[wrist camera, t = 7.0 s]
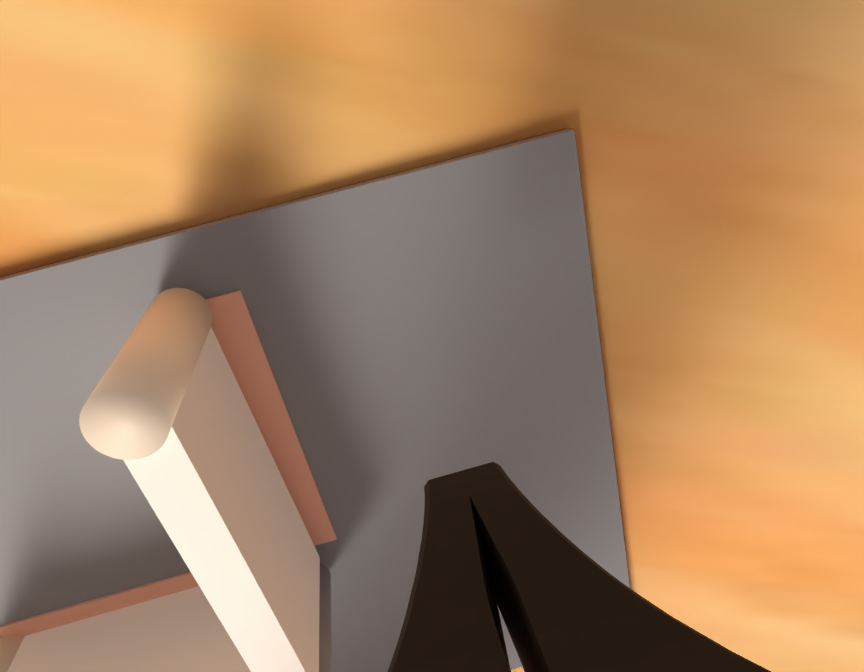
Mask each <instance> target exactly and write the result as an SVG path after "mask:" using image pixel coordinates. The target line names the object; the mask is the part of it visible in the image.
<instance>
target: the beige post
mask: <svg viewBox="0 0 864 672" xmlns="http://www.w3.org/2000/svg"><path fill="white" fill-rule="evenodd" d="M212 320H213V316H212V311H211V308H210V306H209V304H208V303H207V301H206V300H205V299H204V298H203V297H202V296H201V295H199V294H198V293H196V292H194V291H192V290H189V289H186V288H171V289H167V290H164V291H162V292H161V293H159V294H158V295H157V296H156V297H155V298H154V299H153V301H152V302H151V304H150V305H149V307H148V308H147V310H146V311H145V313H144V314H143V316H142V318H141V319H140V321H139V322H138V324H137V325H136V327H135V328H134V330H133V331H132V333H131V334H130V336H129V337H128V339H127V340H126V342H125V343H124V345H123V346H122V348H121V349H120V351H119V353H118V354H117V356H116V357H115V359H114V360H113V362H112V363H111V365H110V366H109V368H108V369H107V371H106V372H105V374H104V375H103V377H102V378H101V380H100V381H99V383H98V385H97V386H96V388H95V389H94V391H93V392H92V394H91V395H90V397H89V398H88V400H87V401H86V403H85V404H84V406H83V408H82V410H81V413H80V417H79V425H80V429H81V432H82V434H83V436H84V438H85V439H86V441H87V442H88V443H89V444H90V445H91V446H92V447H93V448H94V449H95V450H97V451H98V452H100V453H102V454H104V455H106V456H109V457H112V458H115V459H121V460H123V461H124V462H125V464H126V466H127V467H128V469H129V471H130V472H131V474H132V476H133V477H134V479H135V480H136V482H137V484H138V485H139V487H140V489H141V490H142V492H143V494H144V495H145V497H146V499H147V500H148V502H149V504H150V505H151V507H152V509H153V510H154V512H155V514H156V515H157V517H158V519H159V520H160V522H161V524H162V525H163V527H164V529H165V530H166V532H167V533H168V535H169V537H170V538H171V540H172V542H173V543H174V545H175V547H176V548H177V550H178V552H179V553H180V555H181V557H182V558H183V560H184V562H185V563H186V565H187V567H188V568H189V570H190V572H191V573H192V575H193V577H194V578H195V580H196V582H197V583H198V585H199V586H200V588H201V590H202V591H203V593H204V595H205V596H206V598H207V600H208V601H209V603H210V605H211V606H212V608H213V610H214V611H215V613H216V615H217V616H218V618H219V620H220V621H221V623H222V625H223V626H224V628H225V630H226V631H227V633H228V635H229V636H230V638H231V639H232V641H233V643H234V644H235V646H236V648H237V649H238V651H239V653H240V654H241V656H242V658H243V659H244V661H245V663H246V664H247V666H248V668H249V669H250V671H251V672H332V633H331V574H330V571H329V569H328V568H327V567H326V566H325V565H323V564H321V563H320V557H319V555H318V552H317V550H316V548H315V546H314V544H313V542H312V540H311V538H310V535H309V533H308V531H307V529H306V527H305V525H304V523H303V521H302V518H301V516H300V514H299V512H298V510H297V508H296V506H295V504H294V502H293V499H292V497H291V495H290V493H289V491H288V489H287V487H286V485H285V482H284V480H283V478H282V476H281V474H280V472H279V470H278V468H277V465H276V463H275V461H274V459H273V457H272V455H271V453H270V451H269V448H268V446H267V444H266V442H265V440H264V438H263V436H262V434H261V431H260V429H259V427H258V425H257V423H256V421H255V419H254V417H253V414H252V412H251V410H250V408H249V406H248V404H247V402H246V400H245V398H244V395H243V393H242V391H241V389H240V387H239V385H238V383H237V381H236V378H235V376H234V374H233V372H232V370H231V368H230V366H229V364H228V361H227V359H226V357H225V355H224V353H223V351H222V349H221V347H220V344H219V342H218V340H217V338H216V336H215V334H214V332H213V330H212V327H211V325H212Z"/></svg>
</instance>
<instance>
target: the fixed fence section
mask: <svg viewBox="0 0 864 672" xmlns="http://www.w3.org/2000/svg"><path fill="white" fill-rule="evenodd" d="M0 672H251V671H250V669H249V668H248V666H247V664H246V663H245V661H244V659H243V658H242V656H241V654H240V653H239V651H238V649H237V648H236V646H235V644H234V643H233V641H232V639H231V638H230V636H229V635H228V633H227V631H226V630H225V628H224V626H223V625H222V623H221V621H220V620H219V618H218V616H217V615H216V613H215V611H214V610H213V608H212V606H211V605H210V603H209V601H208V600H207V598H206V596H205V595H204V593H203V591H202V590H201V588H200V586H198V587H194V588H191V589H187V590H184V591H180V592H177V593H173V594H170V595H166V596H163V597H159V598H156V599H152V600H149V601H145V602H142V603H138V604H135V605H131V606H128V607H124V608H121V609H117V610H114V611H110V612H107V613H103V614H100V615H97V616H93V617H90V618H86V619H83V620H79V621H76V622H72V623H69V624H65V625H62V626H58V627H55V628H51V629H48V630H44V631H41V632H37V633H34V634H30V635H27V636H23V635H11V636H6V637H3V638H1V639H0Z"/></svg>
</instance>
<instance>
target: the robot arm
mask: <svg viewBox="0 0 864 672" xmlns="http://www.w3.org/2000/svg"><path fill="white" fill-rule="evenodd" d="M424 493H425V509H424V522H423V531H422V539H421V545H420V551H419V557H418V563H417V569H416V574H415V578H414V583H413V587H412V591H411V595H410V599H409V603H408V607H407V611H406V615H405V619H404V622H403V626H402V629H401V633H400V636H399V639H398V642H397V646H396V649H395V651H394V654H393V657H392V660H391V663H390V666H389V669H388V672H511V669H510V664H509V659H508V654H507V649H506V644H505V639H504V634H503V630H502V625H501V620H500V615H499V610H500V612H501V615H502V617H503V620H504V622H505V625H506V627H507V630H508V632H509V634H510V637H511V639H512V642H513V644H514V647H515V649H516V652H517V654H518V656H519V659H520V661H521V664H522V666H523V669H524V671H525V672H771V671H769V670H767V669H765V668H763V667H761V666H759V665H757V664H755V663H753V662H751V661H749V660H747V659H745V658H743V657H742V656H740V655H738V654H736V653H734V652H732V651H730V650H728V649H727V648H725V647H723V646H721V645H720V644H718V643H716V642H715V641H713V640H711V639H709V638H708V637H706V636H704V635H702V634H701V633H699V632H697V631H696V630H694V629H692V628H690V627H689V626H687V625H685V624H683V623H682V622H680V621H678V620H677V619H675V618H673V617H672V616H670V615H669V614H667V613H666V612H664V611H663V610H661V609H660V608H658V607H656V606H655V605H653V604H652V603H650V602H649V601H647V600H646V599H644V598H643V597H641V596H640V595H639V594H637V593H636V592H634V591H633V590H632V589H630V588H629V587H627V586H626V585H625V584H623V583H622V582H620V581H619V580H618V579H616V578H615V577H614V576H613V575H611V574H610V573H609V572H607V571H606V570H605V569H604V568H602V567H601V566H600V565H598V564H597V563H596V562H595V561H594V560H592V559H591V558H590V557H589V556H588V555H586V554H585V553H584V552H583V551H582V550H580V549H579V548H578V547H577V546H576V545H575V544H573V543H572V542H571V541H570V540H569V539H568V538H567V537H566V536H564V535H563V534H562V533H561V532H560V531H559V530H558V529H557V528H556V527H555V526H554V525H553V524H552V523H551V522H550V521H549V520H548V519H547V518H546V517H544V516H543V515H542V514H541V513H540V512H539V511H538V510H537V508H536V507H535V506H534V505H533V504H532V503H531V502H530V501H529V500H528V499H527V498H526V497H525V496H524V495H523V494H522V492H521V491H520V490H519V489H518V488H517V487H516V485H515V484H514V483H513V482H512V481H511V479H510V478H509V477H508V476H507V474H506V473H505V472H504V470H503V469H502V467H501V466H500V465H499V464H497V463H495V462H490V463H487V464H483V465H480V466H476V467H473V468H469V469H466V470H462V471H459V472H455V473H451V474H448V475H444V476H441V477H437V478H434V479H430V480H428V482H427V483H426V484H425V486H424ZM498 607H499V610H498Z"/></svg>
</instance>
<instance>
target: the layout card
mask: <svg viewBox="0 0 864 672" xmlns="http://www.w3.org/2000/svg"><path fill="white" fill-rule="evenodd" d="M171 288H186V289H189V290H192V291H194V292H196V293H198V294H199V295H201V296H202V297H203V298H204V299H205V300H206V301H207V303H208V304H209V306H210V308H211V311H212V316H213V320H212V325H211V327H212V330H213V332H214V334H215V336H216V338H217V340H218V342H219V344H220V347H221V349H222V351H223V353H224V355H225V357H226V359H227V361H228V364H229V366H230V368H231V370H232V372H233V374H234V376H235V378H236V381H237V383H238V385H239V387H240V389H241V391H242V393H243V395H244V398H245V400H246V402H247V404H248V406H249V408H250V410H251V412H252V414H253V417H254V419H255V421H256V423H257V425H258V427H259V429H260V431H261V434H262V436H263V438H264V440H265V442H266V444H267V446H268V448H269V451H270V453H271V455H272V457H273V459H274V461H275V463H276V465H277V468H278V470H279V472H280V474H281V476H282V478H283V480H284V482H285V485H286V487H287V489H288V491H289V493H290V495H291V497H292V499H293V502H294V504H295V506H296V508H297V510H298V512H299V514H300V516H301V518H302V521H303V523H304V525H305V527H306V529H307V531H308V533H309V535H310V538H311V540H312V542H313V544H314V546H315V548H316V550H317V552H318V555H319V557H320V563H321V564H323V565H325V566H326V567H327V568H328V569H329V571H330V574H331V633H332V672H388V669H389V666H390V663H391V660H392V657H393V654H394V651H395V649H396V646H397V642H398V639H399V636H400V633H401V629H402V626H403V622H404V619H405V615H406V611H407V607H408V603H409V599H410V595H411V591H412V587H413V583H414V578H415V574H416V569H417V563H418V557H419V551H420V545H421V539H422V531H423V522H424V509H425V493H424V486H425V484H426V483H427V482H428V480H430V479H434V478H437V477H441V476H444V475H448V474H451V473H455V472H459V471H462V470H466V469H469V468H473V467H476V466H480V465H483V464H487V463H490V462H495V463H497V464H499V465H500V466H501V467H502V469H503V470H504V472H505V473H506V474H507V476H508V477H509V478H510V479H511V481H512V482H513V483H514V484H515V485H516V487H517V488H518V489H519V490H520V491H521V492H522V494H523V495H524V496H525V497H526V498H527V499H528V500H529V501H530V502H531V503H532V504H533V505H534V506H535V507H536V508H537V510H538V511H539V512H540V513H541V514H542V515H543V516H544V517H546V518H547V519H548V520H549V521H550V522H551V523H552V524H553V525H554V526H555V527H556V528H557V529H558V530H559V531H560V532H561V533H562V534H563V535H564V536H566V537H567V538H568V539H569V540H570V541H571V542H572V543H573V544H575V545H576V546H577V547H578V548H579V549H580V550H582V551H583V552H584V553H585V554H586V555H588V556H589V557H590V558H591V559H592V560H594V561H595V562H596V563H597V564H598V565H600V566H601V567H602V568H604V569H605V570H606V571H607V572H609V573H610V574H611V575H613V576H614V577H615V578H616V579H618V580H619V581H620V582H622V583H623V584H625V585H626V586H627V587H629V588H630V584H629V576H628V567H627V559H626V551H625V543H624V535H623V526H622V518H621V510H620V502H619V493H618V485H617V477H616V469H615V460H614V452H613V444H612V436H611V428H610V419H609V411H608V403H607V395H606V386H605V378H604V370H603V362H602V353H601V345H600V337H599V329H598V321H597V312H596V304H595V296H594V288H593V279H592V271H591V263H590V255H589V246H588V238H587V230H586V222H585V214H584V205H583V197H582V189H581V181H580V172H579V164H578V156H577V148H576V139H575V131H574V130H573V129H571V128H567V129H563V130H560V131H556V132H552V133H548V134H544V135H541V136H537V137H533V138H529V139H525V140H522V141H518V142H514V143H510V144H506V145H502V146H499V147H495V148H491V149H487V150H483V151H480V152H476V153H472V154H468V155H464V156H461V157H457V158H453V159H449V160H445V161H441V162H438V163H434V164H430V165H426V166H422V167H419V168H415V169H411V170H407V171H403V172H400V173H396V174H392V175H388V176H384V177H380V178H377V179H373V180H369V181H365V182H361V183H358V184H354V185H350V186H346V187H342V188H339V189H335V190H331V191H327V192H323V193H319V194H316V195H312V196H308V197H304V198H300V199H297V200H293V201H289V202H285V203H281V204H278V205H274V206H270V207H266V208H262V209H258V210H255V211H251V212H247V213H243V214H239V215H236V216H232V217H228V218H224V219H220V220H217V221H213V222H209V223H205V224H201V225H197V226H194V227H190V228H186V229H182V230H178V231H175V232H171V233H167V234H163V235H159V236H156V237H152V238H148V239H144V240H140V241H136V242H133V243H129V244H125V245H121V246H117V247H114V248H110V249H106V250H102V251H98V252H95V253H91V254H87V255H83V256H79V257H75V258H72V259H68V260H64V261H60V262H56V263H53V264H49V265H45V266H41V267H37V268H33V269H30V270H26V271H22V272H18V273H14V274H11V275H7V276H3V277H0V639H1V638H3V637H6V636H11V635H23V636H27V635H30V634H34V633H37V632H41V631H44V630H48V629H51V628H55V627H58V626H62V625H65V624H69V623H72V622H76V621H79V620H83V619H86V618H90V617H93V616H97V615H100V614H103V613H107V612H110V611H114V610H117V609H121V608H124V607H128V606H131V605H135V604H138V603H142V602H145V601H149V600H152V599H156V598H159V597H163V596H166V595H170V594H173V593H177V592H180V591H184V590H187V589H191V588H194V587H198V586H199V585H198V583H197V582H196V580H195V578H194V577H193V575H192V573H191V572H190V570H189V568H188V567H187V565H186V563H185V562H184V560H183V558H182V557H181V555H180V553H179V552H178V550H177V548H176V547H175V545H174V543H173V542H172V540H171V538H170V537H169V535H168V533H167V532H166V530H165V529H164V527H163V525H162V524H161V522H160V520H159V519H158V517H157V515H156V514H155V512H154V510H153V509H152V507H151V505H150V504H149V502H148V500H147V499H146V497H145V495H144V494H143V492H142V490H141V489H140V487H139V485H138V484H137V482H136V480H135V479H134V477H133V476H132V474H131V472H130V471H129V469H128V467H127V466H126V464H125V462H124V461H123V460H121V459H115V458H112V457H109V456H106V455H104V454H102V453H100V452H98V451H97V450H95V449H94V448H93V447H92V446H91V445H90V444H89V443H88V442H87V441H86V439H85V438H84V436H83V434H82V432H81V429H80V425H79V417H80V413H81V410H82V408H83V406H84V404H85V403H86V401H87V400H88V398H89V397H90V395H91V394H92V392H93V391H94V389H95V388H96V386H97V385H98V383H99V381H100V380H101V378H102V377H103V375H104V374H105V372H106V371H107V369H108V368H109V366H110V365H111V363H112V362H113V360H114V359H115V357H116V356H117V354H118V353H119V351H120V349H121V348H122V346H123V345H124V343H125V342H126V340H127V339H128V337H129V336H130V334H131V333H132V331H133V330H134V328H135V327H136V325H137V324H138V322H139V321H140V319H141V318H142V316H143V314H144V313H145V311H146V310H147V308H148V307H149V305H150V304H151V302H152V301H153V299H154V298H155V297H156V296H157V295H158V294H159V293H161V292H162V291H164V290H167V289H171ZM498 610H499V607H498ZM499 615H500V620H501V625H502V630H503V634H504V639H505V644H506V649H507V654H508V659H509V664H510V669H514V668H518V667H521V666H522V664H521V661H520V659H519V656H518V654H517V652H516V649H515V647H514V644H513V642H512V639H511V637H510V634H509V632H508V630H507V627H506V625H505V622H504V620H503V617H502V615H501V612H500V610H499Z"/></svg>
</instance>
